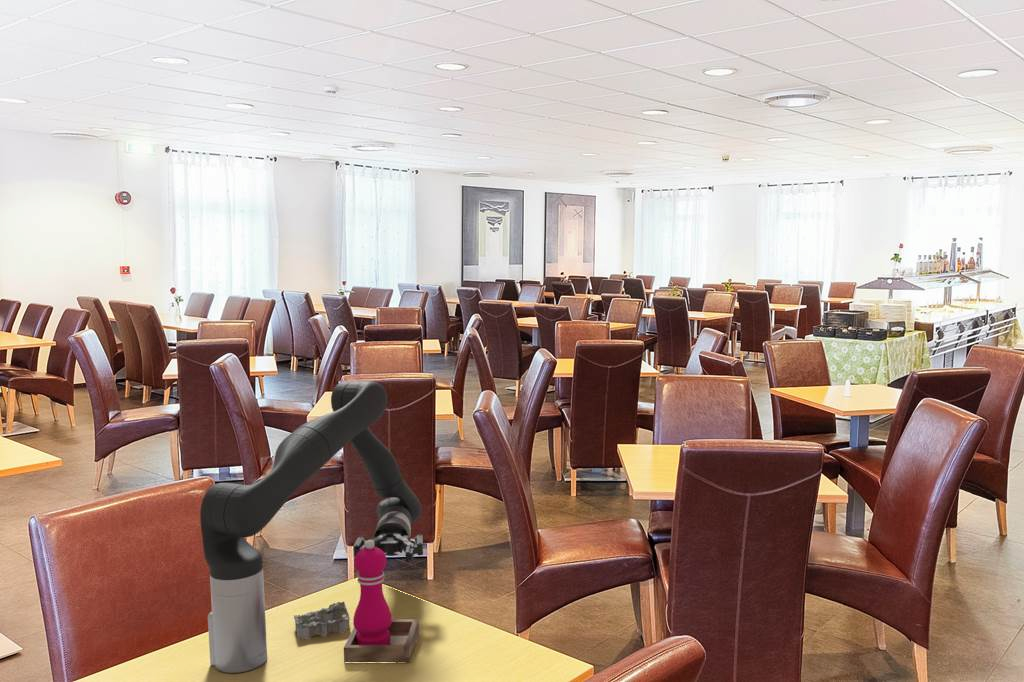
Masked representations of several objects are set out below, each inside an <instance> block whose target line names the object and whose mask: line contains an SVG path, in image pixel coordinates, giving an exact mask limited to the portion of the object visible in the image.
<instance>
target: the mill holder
mask: <svg viewBox="0 0 1024 682" xmlns="http://www.w3.org/2000/svg"><path fill="white" fill-rule="evenodd" d="M419 622H420V620H419V619H418V618H417V619H416V618H415V619H412V618H411V619H407V618H406V619H405V618H404V619H403V618H402V619H392V623H391V625H390V627H389V628H388V630H389V631H390V643H389V644H388V645H357V634H358V631H357V630H356V629H355V627H354V626H353V628H352V631H351V632H350V634H349V636H348V638H347V640H346V642H345V644H344V646H343V664H346V663H345V662H396V663H395V664H399V663H398V662H406V663H405V664H408V663H407V662H410V663H411V661H412V658H411V657H413V655H412V654H414V651H415V648H416V645H417V642H418V640H419V636H420V623H419ZM410 660H411V661H410Z"/></svg>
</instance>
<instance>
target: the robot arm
mask: <svg viewBox="0 0 1024 682" xmlns="http://www.w3.org/2000/svg"><path fill="white" fill-rule="evenodd" d="M330 402H331V409H332V412H329V413H327V414H326V413H325V414H324V415H321V416H319V417H315V418H314V419H311V420H310V421H307V422H304V423H303V424H301V425H300V426H298V427H297V428H296V429H294V430H293V431H292V432H291V433H290V434H288V435H287V436H286V437H285V438H284V439H283V440H282V441H281V442H280V443H279V445H278V447H277V448H276V451H275V453H274V454H275V455H274V461H273V466H272V469H271V470H270V471H269V472H267V473H266V475H264V476H263V477H262V478H261V479H258V481H256V482H255V483H252V484H241V483H240V484H239V483H232V482H219V483H215V484H213V485H211V486H210V487H209V488H208V489H207V490H206V492H205V493H204V495H203V498H202V500H201V504H200V512H199V518H200V519H199V520H200V530H201V531H200V532H201V540H202V547H203V549H202V550H203V556H204V560H205V562H206V563H207V565H208V569H209V582H210V598H211V599H210V602H211V611H210V612H209V613H208V615H207V627H208V628H207V629H208V645H209V646H208V647H209V664H210V665H211V666H214V668H215V669H216V670H217V671H220V672H222V673H227V674H228V673H230V674H235V673H242V672H243V673H244V672H249V671H251V670H254V669H257V668H259V667H260V666H262V665H263V664H264V663H265V662H267V659H268V645H267V625H266V624H267V623H266V621H267V620H266V606H265V605H266V603H265V584H264V563H263V555H262V553H261V552H260V551H259V550H258V549H257V548H255V546H253V545H251V544H250V543H249V542H248V541H247V540H246V538H250V537H253V536H255V535H257V534H259V533H260V532H261V531H263V529H264V528H265V527H266V526H267V525H268V524H269V523H270V522H271V520H273V518H274V517H275V516H276V515H277V514H278V513H279V511H280V510H281V509H282V507H283V506H284V505H285V504H286V503H287V502H288V500H289V499H290V498H291V497H293V496H294V494H295V493H296V492H297V491H298V490H299V489H300V488H301V487H302V486H303V485H304V484H306V482H307V481H308V480H310V479H311V477H313V476H314V475H315V474H316V473H317V472H319V471H320V470H321V469H323V467H324V466H325V465H326V464H327V463H328V462H329V461H330V460H331V459H332V458H333V457H334V456H336V455H337V453H338V452H339V451H341V450H342V449H344V447H345V446H346V445H348V444H349V443H350V442H351V444H352V446H353V447H354V448H355V451H356V452H357V454H358V455H359V458H360V459H361V460H362V462H363V465H364V468H365V470H366V472H367V474H368V476H369V479H370V482H371V485H372V487H373V490H374V491H375V494H376V495H377V496H379V497H380V498H385V499H383V500H381V501H380V502H379V503H378V504H377V506H376V516H377V519H378V523H377V525H376V528H375V532H374V534H373V537H372V538H371V539H370V540H372V541H373V542H374V547H377V548H379V549H381V550H382V551H383V552H384V553H385V555H386V556H389V557H393V556H398V555H400V556H402V557H405V563H410V562H411V560H413V559H414V556H415V555H417V556H423V555H424V540H423V538H424V537H423V535H422V534H417V535H416V536H415V537H414V538H411V534H412V533H411V531H412V530H411V529H412V528H411V526H412V523H414V522H416V521H418V520H419V519H420V517H421V516H422V512H423V511H422V510H423V509H422V503H421V502H420V500H419V498H418V497H417V495H416V494H415V493H414V491H413V490H412V489H411V488H410V487H409V486H408V484H407V482H406V481H405V480H404V478H403V476H402V473H401V471H400V470H401V469H400V467H399V465H398V461H397V460H396V457H395V456H394V454H393V453H392V451H390V450H389V448H388V447H387V446H386V445H385V443H383V442H382V441H381V440H380V439H379V438H378V437H377V436H376V435H375V434H374V433H373V432H372V430H371V429H370V427H371V426H372V425H374V424H375V423H376V422H378V421H379V420H380V419H381V417H382V416H383V414H384V413H385V411H386V409H387V407H388V406H387V405H388V393H387V390H386V389H385V387H384V386H383V385H382V384H380V383H378V382H375V381H373V380H372V381H371V380H347V381H341V382H338V383H337V384H336V385H335V386H334V388H333V390H332V392H331V397H330ZM366 541H367V540H365V538H364V537H363V536H359V537H357V539H356V541H355V542H354V544H353V546H352V547H353V558H354V559H355V556H356V554H357V553H358V552H359V551H360V550H361V549H363V548H366V547H365V542H366Z"/></svg>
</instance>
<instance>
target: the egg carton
mask: <svg viewBox="0 0 1024 682" xmlns="http://www.w3.org/2000/svg"><path fill="white" fill-rule="evenodd" d="M293 617H294V618H293V620H294V625H295V632H296V633H297V634H296V637H297V638H298V639H299V638H301V639H304V640H309V639H311V637H312V636H321V637H326V636H328V635H329V634H331V633H339V634H344V633H343V632H345V633H346V631H348V630H350V626H351V625H350V621H351V618H350V615H349V612H348V609H347V606H346V603H345V601H342V602H341V601H338V602H335V603H332V604H329V606H328V607H325V608H324V607H323V608H322V607H321V609H319V610H315V611H310V612H306V613H304V614H301V615H300V614H296V615H293ZM337 619H340V620H337ZM347 629H348V630H347ZM345 630H346V631H345Z"/></svg>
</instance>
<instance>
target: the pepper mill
mask: <svg viewBox="0 0 1024 682" xmlns="http://www.w3.org/2000/svg"><path fill="white" fill-rule="evenodd" d="M365 541H366V542H365V547H366V548H363V549H361V550H360V551H359V552H358V553H357V554H356V556H355V558H354V560H353V561H354V565H353V566H354V569H355V570H356V571H357V572H358V573H357V583H358V584H359V586H360V587H359V588H360V596H359V601H358V604H357V606H356V608H355V611H354V614H353V618H352V620H353V622H352V623H353V628H354V627H355V629H356V630H357V631H358V634H357V645H388V644H389V643H390V631H389V630H388V628H389V627H390V625H391V623H392V620H393V617H392V612H391V609H390V607H389V605H388V603H387V600H386V598H385V596H384V591H383V582H384V581H385V579H386V578H385V572H384V569H385V568H386V567H387V555H385V553H384V552H383V551H382V550H381V549H379V548H377V547H374V542H373V541H372V540H371V539H368V540H365Z"/></svg>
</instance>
